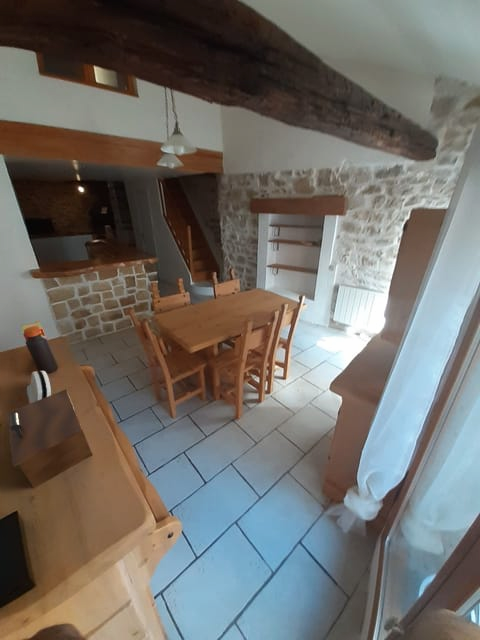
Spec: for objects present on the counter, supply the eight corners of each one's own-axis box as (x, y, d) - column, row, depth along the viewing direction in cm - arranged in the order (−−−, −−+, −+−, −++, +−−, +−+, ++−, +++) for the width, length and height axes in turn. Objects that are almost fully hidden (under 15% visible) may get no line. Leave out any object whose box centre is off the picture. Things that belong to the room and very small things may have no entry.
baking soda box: (54, 359, 114) (42, 328, 107) (36, 364, 110) (22, 333, 103) (51, 350, 120) (39, 320, 113) (34, 355, 117) (20, 325, 109)
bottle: (60, 363, 111) (44, 323, 102) (56, 373, 105) (39, 331, 96) (41, 367, 109) (23, 326, 100) (37, 376, 103) (17, 334, 94)
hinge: (26, 390, 96) (28, 366, 94) (42, 387, 99) (43, 365, 97) (32, 415, 85) (34, 390, 83) (49, 412, 88) (52, 387, 86)
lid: (13, 466, 60) (4, 451, 57) (9, 414, 73) (1, 400, 71) (82, 431, 68) (77, 417, 66) (67, 390, 82) (61, 378, 80)
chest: (33, 488, 65) (18, 464, 60) (25, 435, 78) (13, 412, 74) (92, 455, 73) (83, 431, 68) (76, 412, 87) (67, 391, 82)
